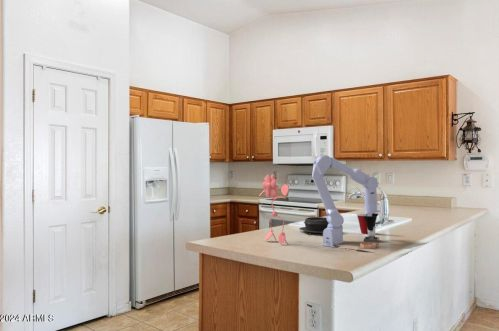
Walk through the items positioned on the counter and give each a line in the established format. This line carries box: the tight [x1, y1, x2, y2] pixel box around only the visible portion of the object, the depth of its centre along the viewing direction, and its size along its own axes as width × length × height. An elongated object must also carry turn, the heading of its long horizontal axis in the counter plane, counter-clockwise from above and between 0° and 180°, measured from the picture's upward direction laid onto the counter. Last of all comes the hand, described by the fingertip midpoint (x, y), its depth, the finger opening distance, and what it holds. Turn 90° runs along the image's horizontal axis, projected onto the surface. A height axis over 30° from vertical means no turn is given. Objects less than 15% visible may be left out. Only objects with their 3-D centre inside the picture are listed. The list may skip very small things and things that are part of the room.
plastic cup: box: [356, 213, 368, 235], centre depth 209 cm, size 11×11×12 cm
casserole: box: [299, 216, 329, 235], centre depth 222 cm, size 25×19×8 cm
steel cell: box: [367, 226, 376, 239], centre depth 186 cm, size 4×4×8 cm
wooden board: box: [357, 239, 382, 254], centre depth 179 cm, size 23×8×2 cm, turn 156°
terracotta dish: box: [359, 242, 376, 250], centre depth 172 cm, size 7×7×2 cm
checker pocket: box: [363, 236, 380, 243], centre depth 186 cm, size 7×7×2 cm
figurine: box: [258, 174, 290, 245], centre depth 193 cm, size 15×26×35 cm, turn 32°
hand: (371, 229), depth 186 cm, fingers open, 7 cm apart
